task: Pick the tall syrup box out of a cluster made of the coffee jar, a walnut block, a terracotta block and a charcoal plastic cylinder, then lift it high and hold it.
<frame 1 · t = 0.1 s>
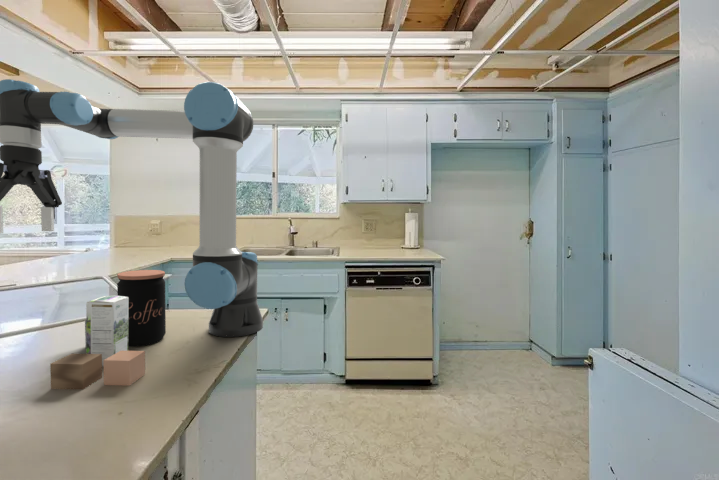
hand: (23, 232, 88), 28 cm above the counter, fingers open, 13 cm apart
coffee jar: (142, 341, 92), on the counter
terracotta block: (125, 379, 70), on the counter
syrup box: (108, 362, 78), on the counter
walnut block: (77, 383, 68), on the counter
charcoal cylinder: (98, 346, 87), on the counter
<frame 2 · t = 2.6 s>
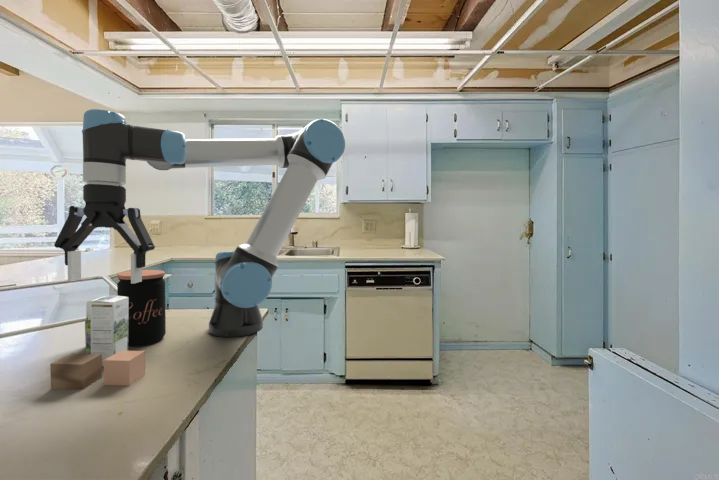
hand: (105, 281, 77), 18 cm above the counter, fingers open, 13 cm apart
nothing on the counter moved.
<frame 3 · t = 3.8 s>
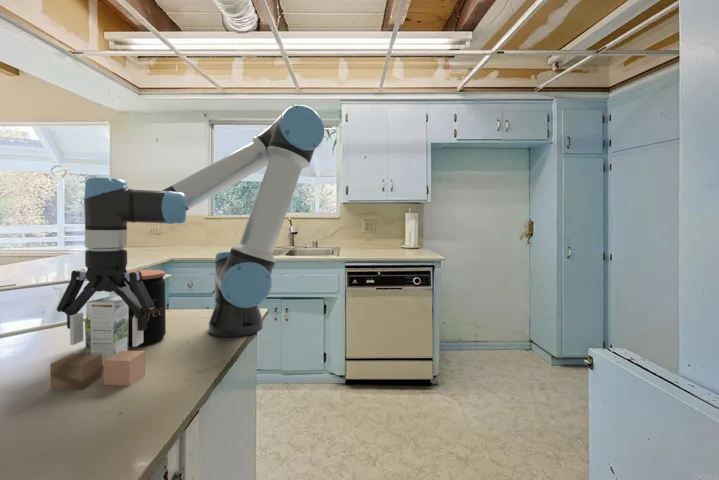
hand: (107, 343, 78), 4 cm above the counter, fingers open, 13 cm apart
nothing on the counter moved.
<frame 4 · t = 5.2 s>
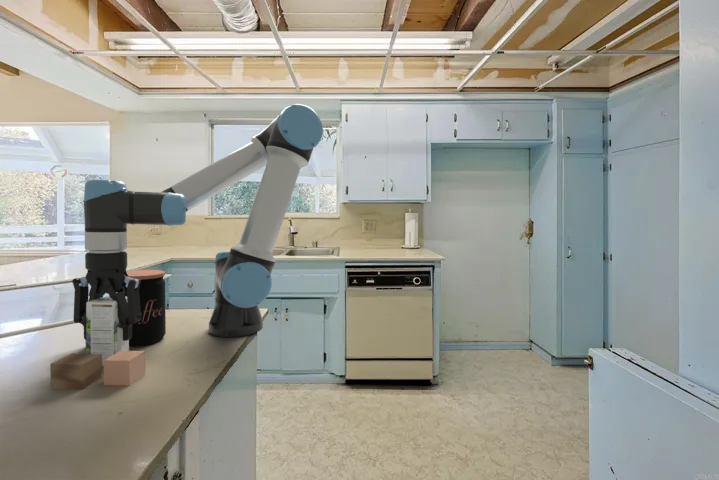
hand: (108, 353, 78), 2 cm above the counter, fingers closed on syrup box, 6 cm apart
syrup box: (108, 362, 78), on the counter, touching gripper
everything else where it was.
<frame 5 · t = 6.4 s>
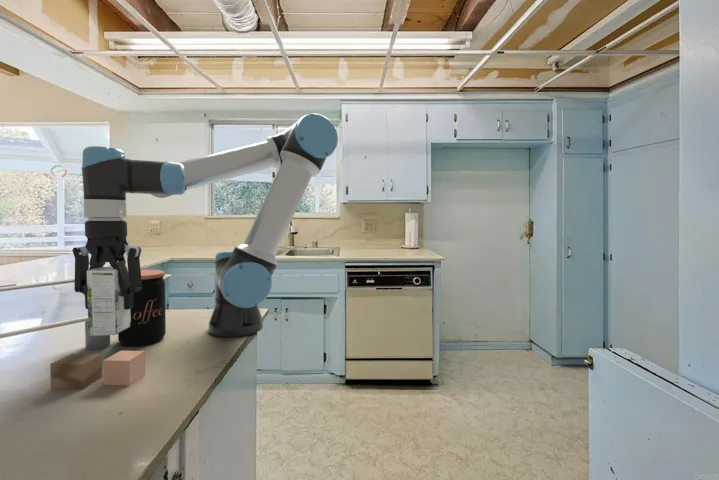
hand: (110, 323, 78), 9 cm above the counter, fingers closed on syrup box, 6 cm apart
syrup box: (110, 332, 78), point 7 cm above the counter, touching gripper
everything else where it was.
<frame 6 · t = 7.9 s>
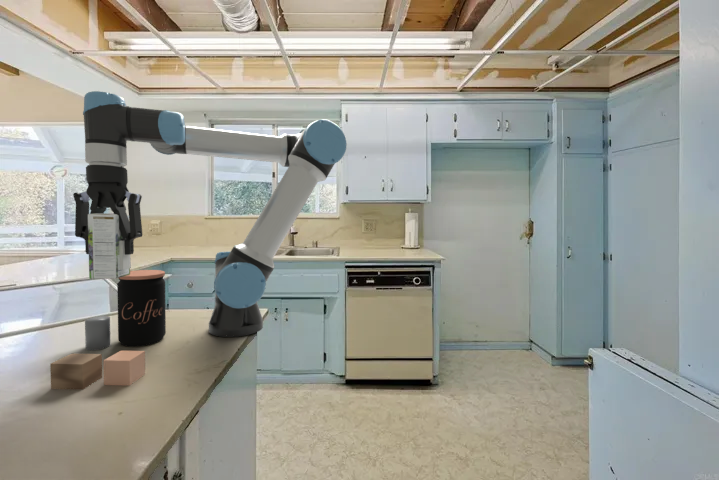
hand: (110, 268, 79), 21 cm above the counter, fingers closed on syrup box, 6 cm apart
syrup box: (111, 278, 80), point 19 cm above the counter, touching gripper
everything else where it was.
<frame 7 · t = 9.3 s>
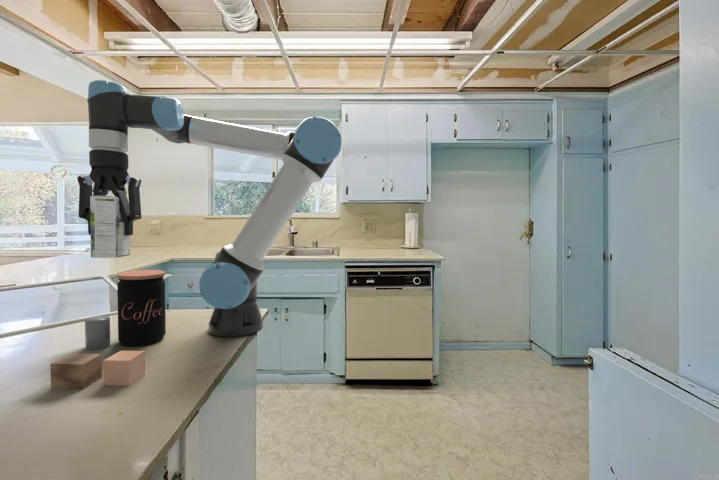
hand: (111, 248, 84), 25 cm above the counter, fingers closed on syrup box, 6 cm apart
syrup box: (111, 257, 84), point 23 cm above the counter, touching gripper
everything else where it was.
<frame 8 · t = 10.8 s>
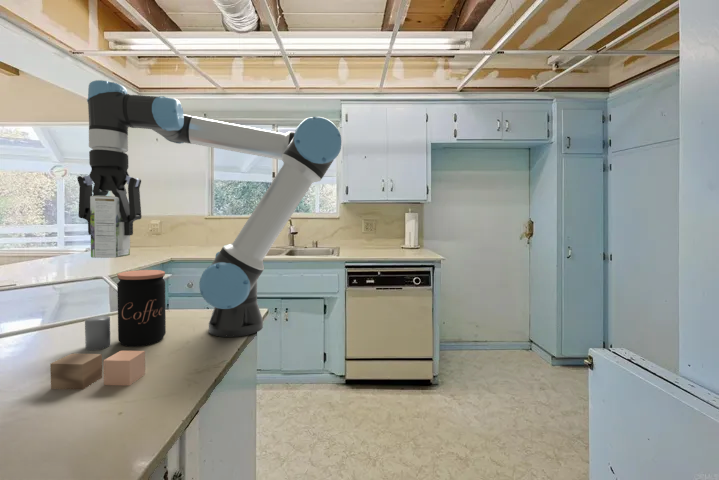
hand: (111, 248, 84), 25 cm above the counter, fingers closed on syrup box, 6 cm apart
syrup box: (111, 257, 84), point 23 cm above the counter, touching gripper
everything else where it was.
at the end: the gripper is holding syrup box; syrup box point 22.7 cm above the counter; coffee jar moved 0.2 cm from its start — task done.
